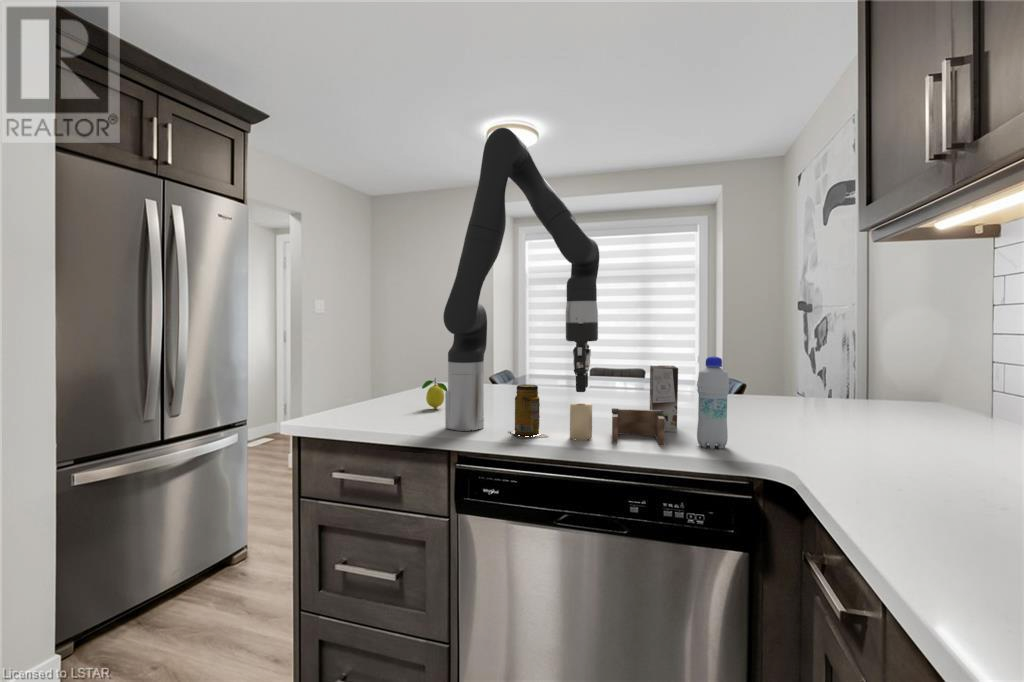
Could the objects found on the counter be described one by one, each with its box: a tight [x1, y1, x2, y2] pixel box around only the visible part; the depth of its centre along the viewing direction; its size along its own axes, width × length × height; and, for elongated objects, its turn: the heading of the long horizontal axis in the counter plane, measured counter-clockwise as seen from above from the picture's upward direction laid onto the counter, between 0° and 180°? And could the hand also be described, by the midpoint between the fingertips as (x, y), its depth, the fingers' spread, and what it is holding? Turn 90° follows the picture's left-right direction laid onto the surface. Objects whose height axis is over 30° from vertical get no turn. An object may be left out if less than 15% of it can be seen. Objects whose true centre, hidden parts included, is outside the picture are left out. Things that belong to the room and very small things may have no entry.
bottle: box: [696, 355, 730, 450], centre depth 111 cm, size 7×7×20 cm
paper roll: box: [569, 402, 593, 441], centre depth 119 cm, size 5×5×8 cm
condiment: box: [508, 383, 549, 439], centre depth 123 cm, size 7×8×12 cm
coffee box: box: [649, 365, 679, 433], centre depth 131 cm, size 9×6×16 cm
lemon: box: [421, 377, 448, 410], centre depth 159 cm, size 7×6×10 cm
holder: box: [611, 407, 665, 447], centre depth 119 cm, size 12×11×7 cm
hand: (582, 389), depth 119 cm, fingers open, 8 cm apart
